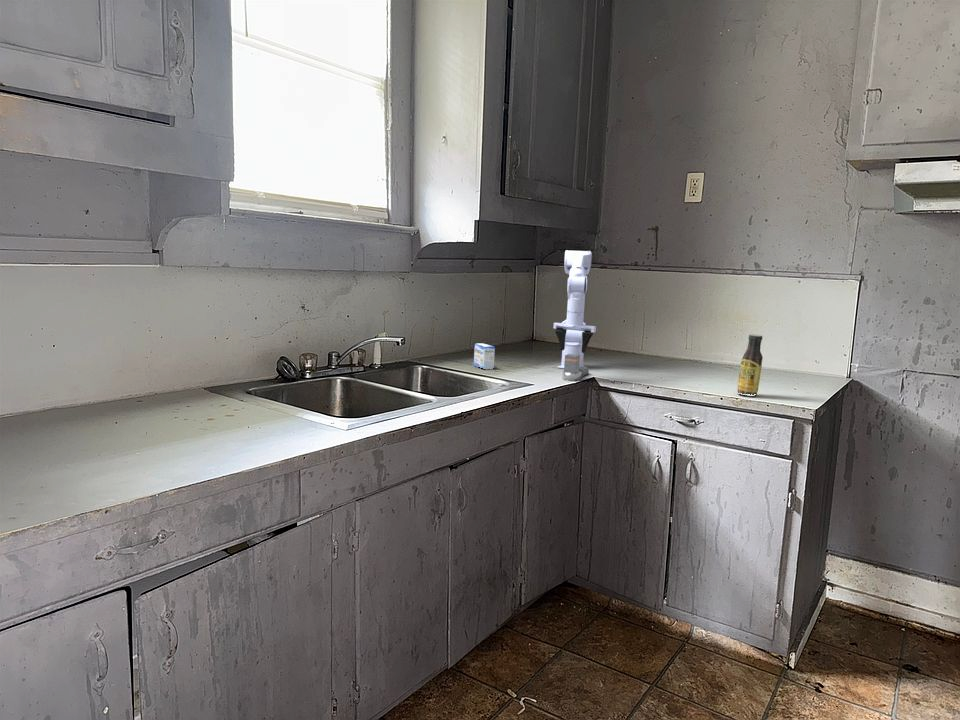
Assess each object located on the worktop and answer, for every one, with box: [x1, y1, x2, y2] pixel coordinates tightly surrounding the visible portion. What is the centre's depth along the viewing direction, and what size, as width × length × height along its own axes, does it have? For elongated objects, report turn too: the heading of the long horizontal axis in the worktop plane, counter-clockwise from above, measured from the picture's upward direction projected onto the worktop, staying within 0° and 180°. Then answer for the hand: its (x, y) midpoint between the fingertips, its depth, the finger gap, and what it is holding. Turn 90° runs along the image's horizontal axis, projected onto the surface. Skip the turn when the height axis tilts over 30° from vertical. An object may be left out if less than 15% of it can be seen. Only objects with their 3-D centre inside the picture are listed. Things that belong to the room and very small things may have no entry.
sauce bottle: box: [736, 333, 763, 395], centre depth 213 cm, size 7×6×20 cm
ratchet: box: [562, 366, 590, 382], centre depth 234 cm, size 18×6×5 cm, turn 153°
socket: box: [563, 354, 580, 374], centre depth 229 cm, size 4×4×6 cm
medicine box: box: [473, 342, 496, 370], centre depth 244 cm, size 8×4×9 cm, turn 28°
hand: (572, 351), depth 228 cm, fingers open, 7 cm apart
